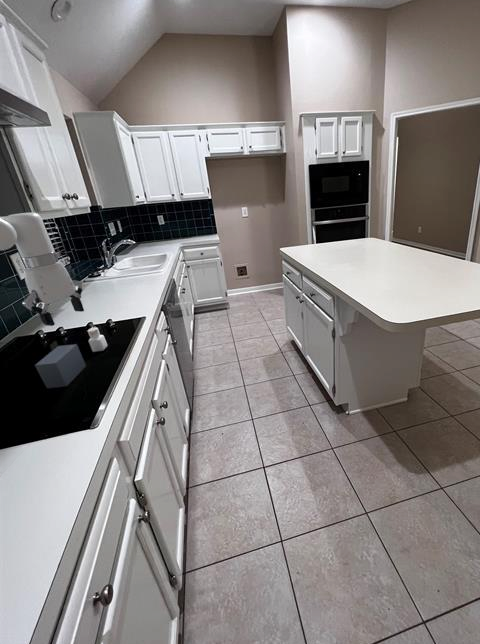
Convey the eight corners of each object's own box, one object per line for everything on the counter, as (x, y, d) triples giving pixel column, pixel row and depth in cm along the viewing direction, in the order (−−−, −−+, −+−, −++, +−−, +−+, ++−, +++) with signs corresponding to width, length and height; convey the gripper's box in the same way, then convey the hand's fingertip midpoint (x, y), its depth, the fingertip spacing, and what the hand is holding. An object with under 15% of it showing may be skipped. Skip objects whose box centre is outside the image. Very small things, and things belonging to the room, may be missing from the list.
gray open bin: (49, 392, 95) (34, 365, 91) (70, 371, 105) (58, 346, 100) (69, 390, 95) (55, 363, 91) (88, 370, 105) (76, 344, 101)
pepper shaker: (109, 349, 117) (100, 326, 113) (104, 354, 113) (95, 331, 109) (98, 350, 117) (89, 327, 113) (93, 355, 113) (83, 332, 109)
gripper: (60, 253, 94) (81, 305, 101) (-3, 270, 79) (27, 330, 86) (79, 252, 92) (99, 306, 99) (18, 270, 77) (46, 332, 84)
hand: (65, 317), depth 93 cm, fingers open, 9 cm apart
